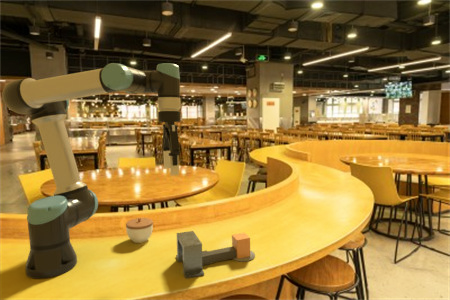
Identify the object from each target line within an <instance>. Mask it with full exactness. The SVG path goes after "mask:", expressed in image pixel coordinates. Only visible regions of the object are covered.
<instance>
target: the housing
mask: <svg viewBox="0 0 450 300" xmlns="http://www.w3.org/2000/svg"><path fill="white" fill-rule="evenodd" d="M202 251H203V243H202V242H201V240H200V239H199V237H198V235H196V233H195V232H194V230H190V231H184V232H176V255H175V258H176V260H177V262H178V263H180V262H181V263H182V273H183V276H184V278H185V279H186V280H188V279H191V278H192V279H193V278H196V277H201V276H205V271H204V270H203V266H202Z"/></svg>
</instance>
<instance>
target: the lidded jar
mask: <svg viewBox="0 0 450 300" xmlns="http://www.w3.org/2000/svg"><path fill="white" fill-rule="evenodd" d="M153 226H154V221H153V219H151V218H149V217H135V218H131V219H129V220H128V221H126V222H125V227H126V229H125V230H126V234H127V237H128V239H130V240H131V241H132V243H133V244H134V243H135V244H143V243H146V242H148V240H149V239H150V237H151V236H152V233H153V229H154V227H153Z"/></svg>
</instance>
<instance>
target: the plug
mask: <svg viewBox="0 0 450 300" xmlns="http://www.w3.org/2000/svg"><path fill="white" fill-rule="evenodd" d="M250 251H251V237H250V236H249V235H247V233H246V232H240V233H235V234H231V246H229V247H224V248H223V247H222V248H218V249H214V250H213V249H212V250H202V267H204V266H207V265H211V264H212V263H217V262H218V263H219V262H222V261H227V260H233V258H237V259H240V258H244V257H249V256H250Z"/></svg>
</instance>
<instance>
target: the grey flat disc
mask: <svg viewBox="0 0 450 300" xmlns="http://www.w3.org/2000/svg"><path fill="white" fill-rule="evenodd" d="M255 258H256V254H255V253H254V251H253V250H250V256H249V257H244V258H240V259H237V258H233V259H232V260H233V261H236V262H242V263H244V262H250V261H253V260H254V259H255Z"/></svg>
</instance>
